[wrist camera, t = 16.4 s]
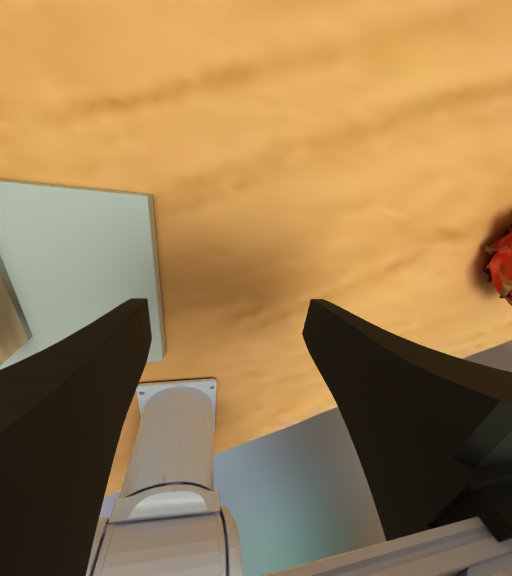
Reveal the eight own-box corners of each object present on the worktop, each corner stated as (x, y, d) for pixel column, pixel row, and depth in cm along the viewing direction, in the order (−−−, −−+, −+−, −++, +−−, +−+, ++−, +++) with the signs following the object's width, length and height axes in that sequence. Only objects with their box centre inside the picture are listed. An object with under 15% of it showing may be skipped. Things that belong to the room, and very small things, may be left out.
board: (165, 350, 21) (162, 361, 20) (-111, 361, 17) (-137, 377, 16) (152, 194, 15) (147, 196, 14) (-281, 150, 11) (-348, 147, 10)
